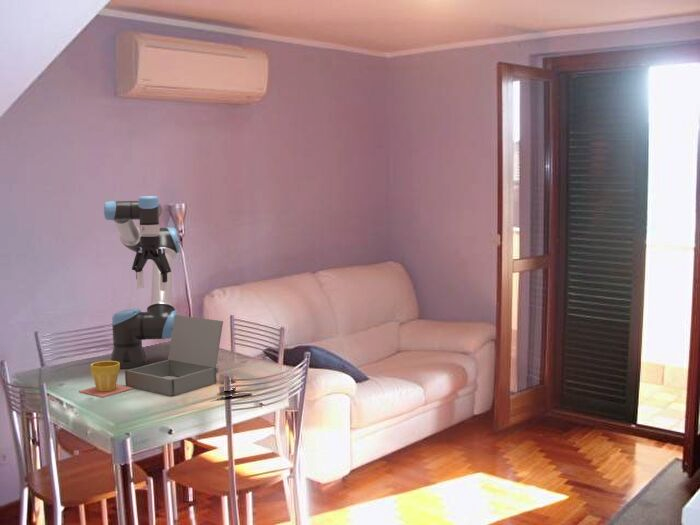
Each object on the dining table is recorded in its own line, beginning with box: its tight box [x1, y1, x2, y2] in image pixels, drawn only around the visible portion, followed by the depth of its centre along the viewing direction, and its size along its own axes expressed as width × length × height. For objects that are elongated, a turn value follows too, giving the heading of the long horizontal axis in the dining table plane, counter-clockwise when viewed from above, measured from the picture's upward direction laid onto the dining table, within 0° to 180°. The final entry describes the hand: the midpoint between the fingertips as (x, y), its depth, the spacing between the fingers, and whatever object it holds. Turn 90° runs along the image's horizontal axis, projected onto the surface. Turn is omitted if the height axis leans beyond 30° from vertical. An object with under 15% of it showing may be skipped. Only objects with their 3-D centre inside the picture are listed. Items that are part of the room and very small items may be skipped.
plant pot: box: [90, 360, 121, 392], centre depth 290 cm, size 10×10×10 cm
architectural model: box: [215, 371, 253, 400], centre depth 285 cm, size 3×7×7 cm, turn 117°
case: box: [124, 314, 224, 397], centre depth 298 cm, size 26×27×24 cm
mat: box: [78, 383, 135, 399], centre depth 291 cm, size 14×14×1 cm
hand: (152, 289), depth 308 cm, fingers open, 13 cm apart
